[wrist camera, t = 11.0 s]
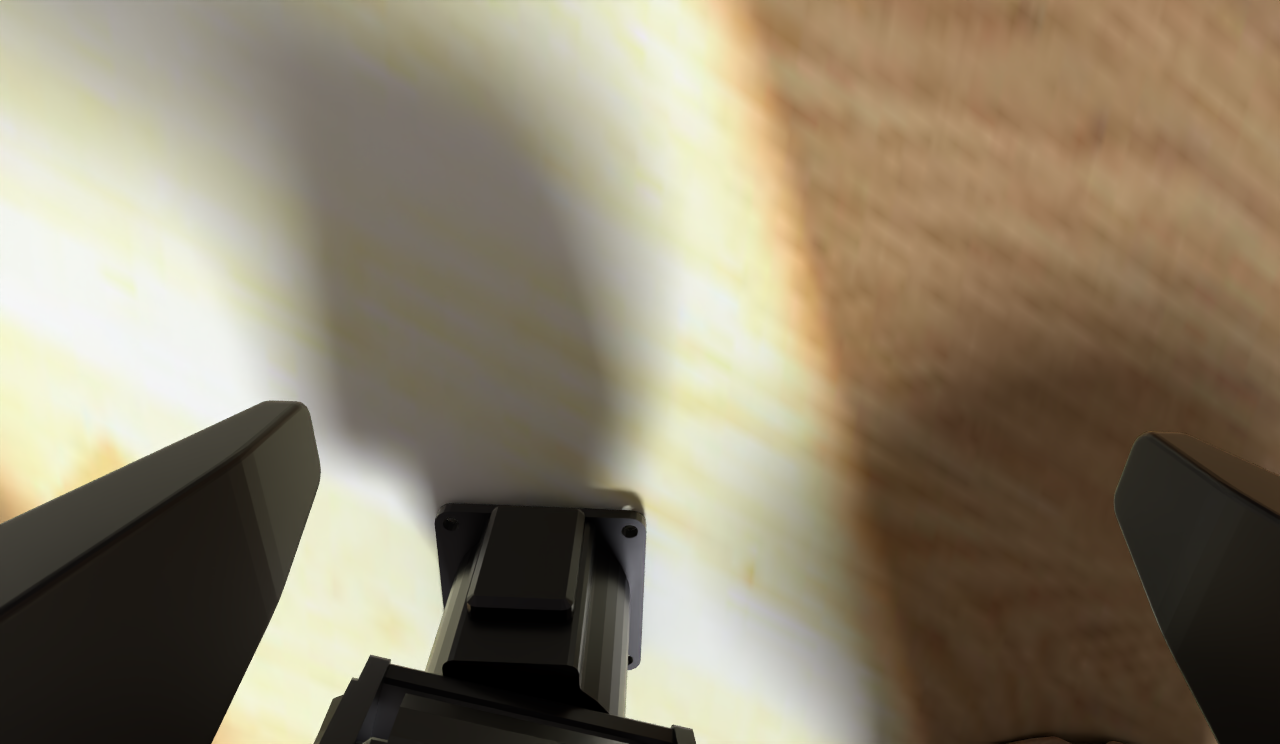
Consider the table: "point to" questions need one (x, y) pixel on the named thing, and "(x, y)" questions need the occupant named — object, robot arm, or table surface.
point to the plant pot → (1050, 741)
